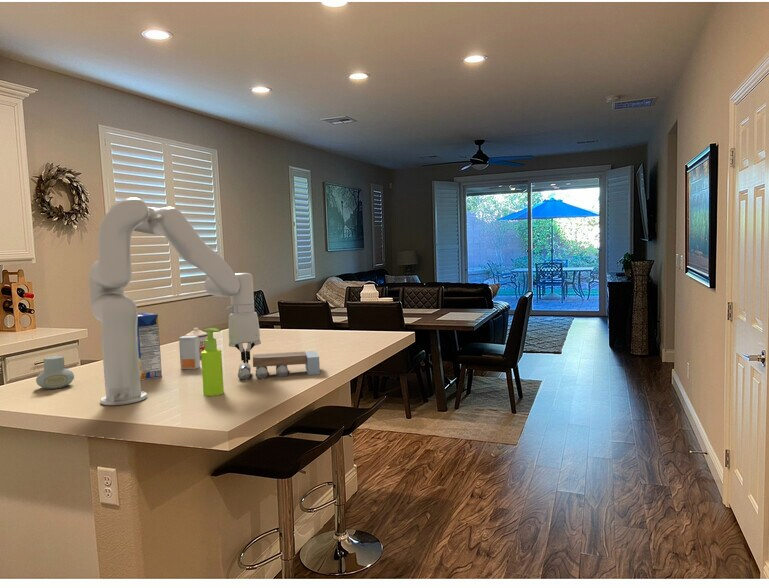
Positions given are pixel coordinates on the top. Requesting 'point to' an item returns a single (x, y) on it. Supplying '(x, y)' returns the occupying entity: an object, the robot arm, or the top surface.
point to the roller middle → (261, 372)
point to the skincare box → (189, 352)
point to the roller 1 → (244, 371)
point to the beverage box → (148, 346)
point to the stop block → (312, 363)
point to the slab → (279, 359)
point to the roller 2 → (282, 371)
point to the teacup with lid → (201, 336)
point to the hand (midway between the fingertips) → (246, 362)
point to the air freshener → (54, 374)
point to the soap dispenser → (212, 366)
